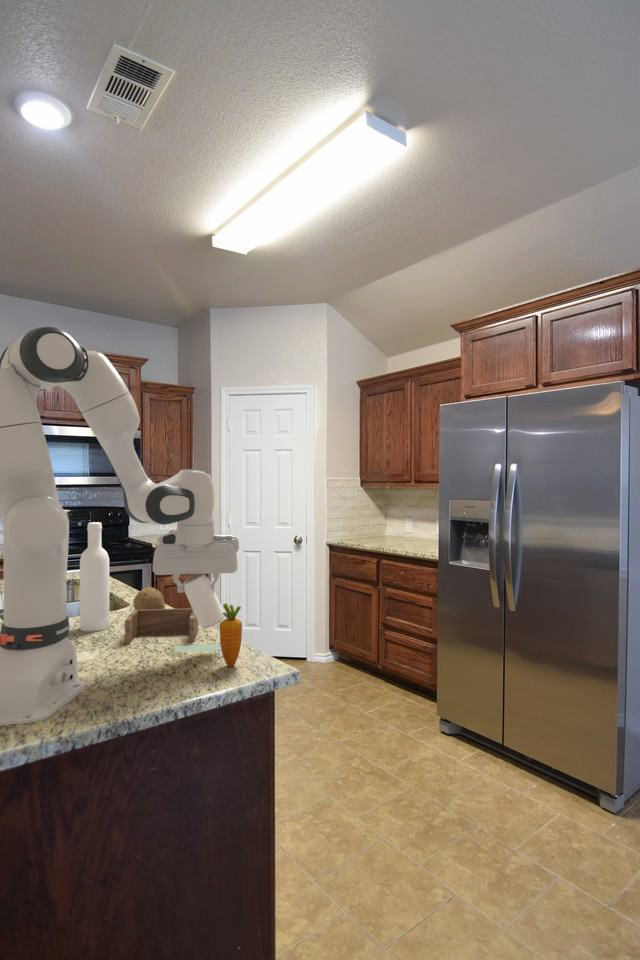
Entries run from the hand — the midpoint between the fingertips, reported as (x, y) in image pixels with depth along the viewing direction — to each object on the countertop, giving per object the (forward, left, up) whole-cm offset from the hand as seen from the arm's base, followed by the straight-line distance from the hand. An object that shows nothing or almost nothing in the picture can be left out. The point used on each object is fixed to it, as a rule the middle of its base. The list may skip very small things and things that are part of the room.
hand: (196, 591), depth 131 cm
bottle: (+25, +31, -16) cm, 43 cm away
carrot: (-11, -9, -16) cm, 21 cm away
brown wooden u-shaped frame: (+13, +10, -15) cm, 23 cm away
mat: (0, 0, -15) cm, 15 cm away
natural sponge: (+31, +17, -16) cm, 39 cm away
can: (0, -4, -8) cm, 9 cm away
